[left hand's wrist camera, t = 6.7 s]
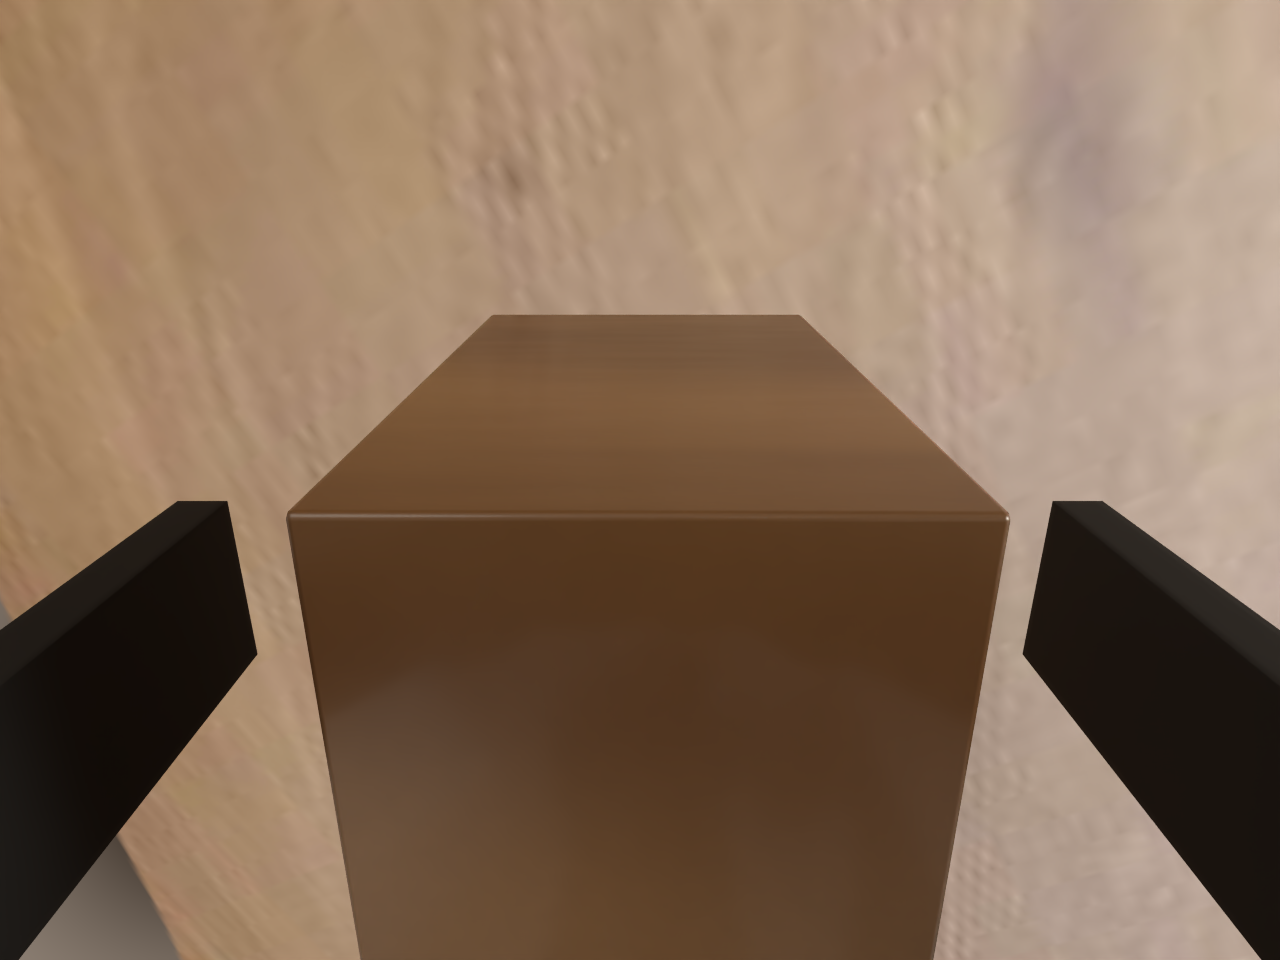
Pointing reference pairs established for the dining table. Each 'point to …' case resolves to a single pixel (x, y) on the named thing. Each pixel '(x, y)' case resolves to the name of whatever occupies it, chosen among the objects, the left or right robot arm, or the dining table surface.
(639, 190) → the dining table surface
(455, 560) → the bar
